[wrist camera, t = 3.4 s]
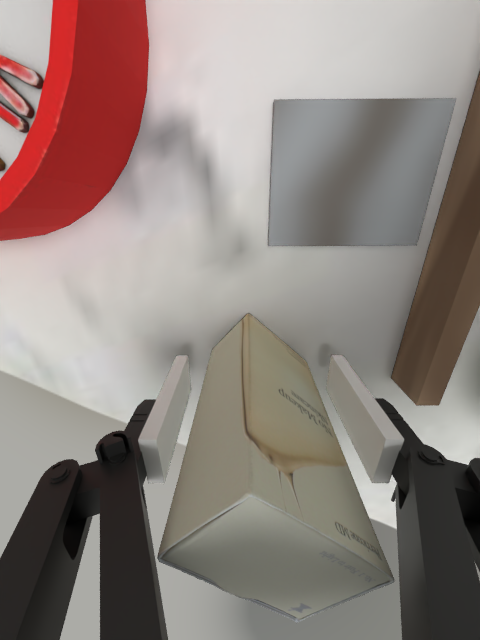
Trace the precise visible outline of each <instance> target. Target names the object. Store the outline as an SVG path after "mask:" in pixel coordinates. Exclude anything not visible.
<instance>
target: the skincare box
mask: <svg viewBox="0 0 480 640" xmlns="http://www.w3.org/2000/svg"><path fill="white" fill-rule="evenodd" d="M158 560H159V562H161V563H163V564H166V565H168V566H171V567H173V568H176V569H178V570H181V571H182V572H184V573H187V574H189V575H191V576H194V577H196V578H197V579H200V580H204V581H205V582H207V583H209V584H212V585H214V586H216V587H217V588H219V589H221V590H223V591H225V592H228V593H230V594H233V595H235V596H237V597H239V598H242V599H245V600H248V601H251V602H253V603H256V604H258V605H260V606H262V607H264V608H267V609H269V610H271V611H274V612H276V613H278V614H280V615H283V616H285V617H288V618H289V619H291V620H292V621H294V622H297V623H298V622H300V621H302V620H304V619H306V618H307V617H310V616H313V615H315V614H318V613H320V612H322V611H324V610H327V609H329V608H332V607H335V606H337V605H340V604H342V603H344V602H347V601H350V600H352V599H354V598H357V597H360V596H361V595H365V594H366V593H369V592H371V591H373V590H376V589H378V588H381V587H384V586H387V585H389V584H392V583H393V582H394V577H393V575H392V573H391V570H390V568H389V565H388V563H387V561H386V558H385V556H384V553H383V551H382V549H381V547H380V544H379V541H378V539H377V537H376V534H375V532H374V530H373V527H372V524H371V522H370V519H369V517H368V514H367V512H366V509H365V507H364V504H363V502H362V499H361V497H360V494H359V492H358V489H357V487H356V484H355V482H354V479H353V477H352V474H351V472H350V469H349V467H348V465H347V462H346V460H345V457H344V455H343V452H342V450H341V447H340V445H339V442H338V440H337V437H336V435H335V432H334V430H333V427H332V425H331V422H330V420H329V417H328V415H327V412H326V410H325V407H324V405H323V402H322V400H321V397H320V395H319V392H318V389H317V387H316V385H315V382H314V380H313V377H312V374H311V372H310V369H309V367H308V364H307V362H306V361H305V360H304V359H303V358H301V357H300V356H299V355H298V354H297V353H296V352H295V351H293V350H292V349H291V348H290V347H289V346H288V345H286V344H285V343H284V342H283V341H282V340H281V339H279V338H278V337H277V336H276V335H275V334H273V333H272V332H271V331H270V330H269V329H267V328H266V327H265V326H264V325H263V324H261V323H260V322H259V321H258V320H257V319H255V318H254V317H253V316H252V315H250V314H247V315H246V316H245V317H244V318H243V319H242V320H241V321H240V322H239V323H238V324H237V325H236V326H235V327H234V328H233V329H232V330H231V331H230V332H229V333H228V334H227V335H226V336H225V337H224V338H223V339H222V340H221V341H220V342H219V343H218V344H217V345H216V346H215V347H214V348H213V349H212V352H211V355H210V359H209V363H208V367H207V371H206V375H205V378H204V382H203V386H202V390H201V394H200V397H199V401H198V405H197V409H196V413H195V417H194V420H193V424H192V428H191V432H190V435H189V439H188V443H187V447H186V451H185V455H184V458H183V462H182V466H181V470H180V474H179V478H178V482H177V485H176V489H175V493H174V496H173V501H172V504H171V508H170V512H169V516H168V519H167V523H166V527H165V530H164V534H163V538H162V541H161V545H160V549H159V553H158Z"/></svg>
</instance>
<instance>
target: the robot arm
mask: <svg viewBox="0 0 480 640" xmlns="http://www.w3.org/2000/svg"><path fill="white" fill-rule="evenodd" d="M326 390H327V392H328V394H329V396H330V398H331V400H332V402H333V404H334V407H335V409H336V411H337V413H338V415H339V417H340V419H341V421H342V423H343V425H344V427H345V429H346V431H347V433H348V435H349V437H350V439H351V441H352V443H353V445H354V447H355V449H356V451H357V453H358V455H359V458H360V460H361V462H362V464H363V466H364V468H365V470H366V472H367V474H368V476H369V478H370V480H371V482H372V483H389V481H390V478H391V475H393V477H394V478H395V480H396V482H397V485H396V488H395V490H394V493H393V495H392V499H391V501H393V502H394V501H395V498H396V516H397V537H398V559H399V581H400V603H401V622H402V623H401V625H402V640H480V581H479V577H478V574H477V570H476V566H475V563H476V565H477V567H478V569H479V571H480V458H474V459H472V460H471V461H470V463H469V465H466V464H462V463H458V462H454V461H450V460H447V459H446V458H445V457H444V456H443V455H442V454H441V453H440V452H438V451H437V450H436V449H434V448H432V447H430V446H428V445H424V444H423V443H422V442H421V441H420V439H419V438H418V437H417V436H416V434H415V433H414V432H413V430H412V429H411V428H410V427H409V425H408V424H407V423H406V422H405V421H404V420H403V418H402V417H401V415H400V414H398V412H397V410H396V409H395V408H394V407H393V405H391V404H390V403H389V402H387V401H386V400H385V399H383V398H382V399H375V398H374V397H373V396H372V394H371V393H370V392H369V390H368V389H367V387H366V386H365V385H364V383H363V382H362V381H361V379H360V378H359V376H358V375H357V374H356V372H355V371H354V370H353V368H352V367H351V366H350V364H349V363H348V361H347V360H346V359H345V357H344V356H343V355H331V360H330V366H329V372H328V378H327V384H326ZM190 392H191V380H190V370H189V361H188V355H180V356H176V358H175V360H174V362H173V364H172V366H171V369H170V371H169V373H168V375H167V377H166V380H165V382H164V384H163V386H162V388H161V391H160V393H159V395H158V397H157V399H156V400H144V401H143V402H142V403H141V404H139V405H138V406H137V408H136V410H135V412H134V414H133V416H132V417H131V419H130V422H129V423H128V425H127V427H126V429H125V431H116V432H112V433H110V434H108V435H106V436H104V437H103V438H102V439H101V440H100V441H99V442H98V444H97V445H96V449H95V452H96V454H97V457H98V460H97V461H95V462H91V463H87V464H84V465H80V466H79V464H78V462H77V461H75V460H73V459H71V460H70V459H69V460H64V461H61V462H58V463H57V464H55V465H53V466H51V467H50V468H49V469H48V470H47V471H46V472H45V473H44V474H43V476H42V477H41V479H40V481H39V483H38V485H37V487H36V489H35V491H34V493H33V495H32V496H31V498H30V501H29V502H28V505H27V506H26V508H25V510H24V512H23V514H22V517H21V518H20V520H19V522H18V524H17V526H16V528H15V530H14V532H13V534H12V536H11V538H10V540H9V542H8V544H7V546H6V548H5V550H4V552H3V554H2V556H1V558H0V640H60V636H61V632H62V628H63V625H64V621H65V617H66V613H67V609H68V606H69V602H70V598H71V595H72V591H73V587H74V584H75V580H76V576H77V572H78V569H79V565H80V561H81V557H82V554H83V550H84V546H85V542H86V538H87V535H88V531H89V527H90V523H91V520H92V516H94V515H97V514H100V640H168V636H167V630H166V623H165V618H164V611H163V605H162V599H161V593H160V586H159V580H158V574H157V568H156V562H155V556H154V549H153V543H152V538H151V531H150V525H149V519H148V513H147V506H146V500H145V494H144V489H143V483H144V481H145V478H146V476H147V480H148V483H165V481H166V477H167V474H168V470H169V466H170V463H171V459H172V455H173V452H174V449H175V445H176V442H177V438H178V435H179V431H180V428H181V424H182V420H183V417H184V413H185V410H186V406H187V403H188V399H189V396H190ZM474 561H475V562H474Z"/></svg>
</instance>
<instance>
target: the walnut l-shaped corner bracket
mask: <svg viewBox="0 0 480 640" xmlns="http://www.w3.org/2000/svg"><path fill="white" fill-rule="evenodd" d="M455 102H456V98H428V99H288V100H274V108H273V133H272V159H271V184H270V210H269V235H268V246H373V245H417V242H418V238H419V235H420V231H421V227H422V224H423V220H424V216H425V213H426V209H427V205H428V201H429V198H430V194H431V190H432V187H433V183H434V179H435V176H436V172H437V168H438V164H439V161H440V157H441V153H442V150H443V146H444V142H445V139H446V135H447V131H448V127H449V124H450V120H451V116H452V113H453V109H454V105H455ZM479 305H480V73H479V76H478V80H477V83H476V87H475V90H474V94H473V97H472V100H471V104H470V107H469V111H468V114H467V118H466V121H465V125H464V128H463V131H462V135H461V138H460V142H459V145H458V149H457V152H456V156H455V159H454V162H453V166H452V169H451V173H450V176H449V180H448V183H447V187H446V190H445V193H444V197H443V200H442V204H441V207H440V211H439V214H438V218H437V221H436V224H435V228H434V231H433V235H432V238H431V242H430V245H429V249H428V252H427V255H426V259H425V262H424V266H423V269H422V273H421V276H420V280H419V283H418V286H417V290H416V293H415V297H414V300H413V304H412V307H411V311H410V314H409V317H408V321H407V324H406V328H405V331H404V335H403V338H402V342H401V345H400V348H399V352H398V355H397V359H396V362H395V366H394V369H393V373H392V376H391V378H392V380H393V381H394V382H395V383H396V384H397V385H398V386H399V387H400V388H401V389H402V390H403V391H404V393H405V394H406V395H407V396H408V397H409V398H410V399H411V400H412V401H413V402H414V403H415V404H416V405H439V404H440V401H441V399H442V396H443V394H444V391H445V389H446V387H447V384H448V382H449V379H450V377H451V374H452V372H453V369H454V367H455V364H456V362H457V359H458V357H459V355H460V352H461V350H462V347H463V345H464V342H465V340H466V337H467V335H468V332H469V330H470V327H471V325H472V323H473V320H474V318H475V315H476V313H477V310H478V308H479Z"/></svg>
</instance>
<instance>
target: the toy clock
mask: <svg viewBox="0 0 480 640" xmlns="http://www.w3.org/2000/svg"><path fill="white" fill-rule="evenodd" d="M148 54H149V39H148V27H147V15H146V4H145V0H0V241H2V240H12V239H21V238H27V237H33V236H39V235H45V234H48V233H50V232H53V231H56V230H58V229H61V228H63V227H66V226H68V225H70V224H72V223H73V222H75V221H76V220H78V219H79V218H81V217H82V216H84V215H85V214H87V213H88V212H90V211H91V210H92V209H93V208H94V207H95V206H96V205H97V204H98V203H99V202H100V201H101V200H102V199H103V198H104V196H105V195H106V194H107V193H108V192H109V191H110V190H111V189H112V187H113V185H114V184H115V182H116V180H117V179H118V177H119V175H120V174H121V172H122V170H123V169H124V167H125V166H126V164H127V162H128V159H129V156H130V154H131V151H132V148H133V146H134V143H135V140H136V138H137V135H138V132H139V129H140V124H141V118H142V113H143V108H144V103H145V98H146V93H147V77H148Z"/></svg>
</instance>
